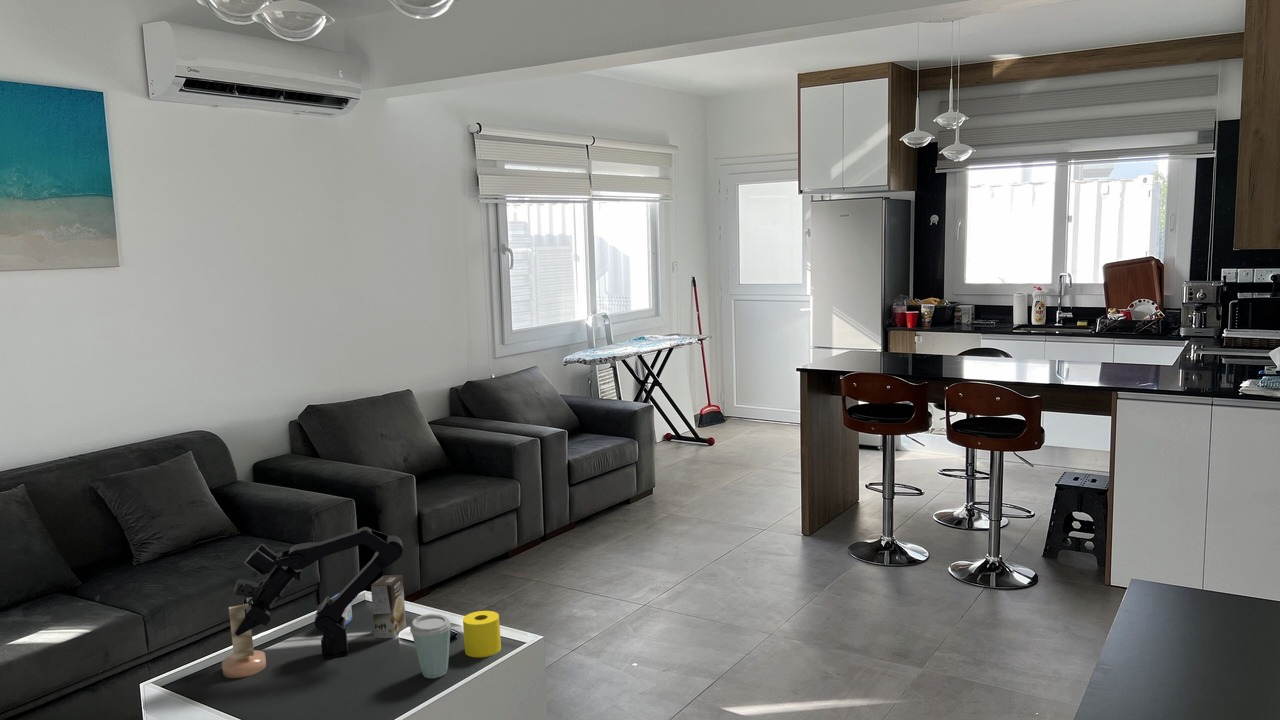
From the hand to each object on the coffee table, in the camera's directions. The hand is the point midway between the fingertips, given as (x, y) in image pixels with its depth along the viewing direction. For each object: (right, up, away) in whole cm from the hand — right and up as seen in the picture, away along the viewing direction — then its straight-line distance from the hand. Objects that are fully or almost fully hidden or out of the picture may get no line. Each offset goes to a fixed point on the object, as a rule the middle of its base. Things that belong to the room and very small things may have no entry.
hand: (235, 631), depth 258 cm
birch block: (+2, -7, +1) cm, 7 cm away
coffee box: (+36, -7, +23) cm, 44 cm away
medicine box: (+19, -7, +31) cm, 37 cm away
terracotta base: (+2, -11, +2) cm, 11 cm away
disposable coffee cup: (+56, -10, -7) cm, 57 cm away
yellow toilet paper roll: (+66, -7, +8) cm, 67 cm away
